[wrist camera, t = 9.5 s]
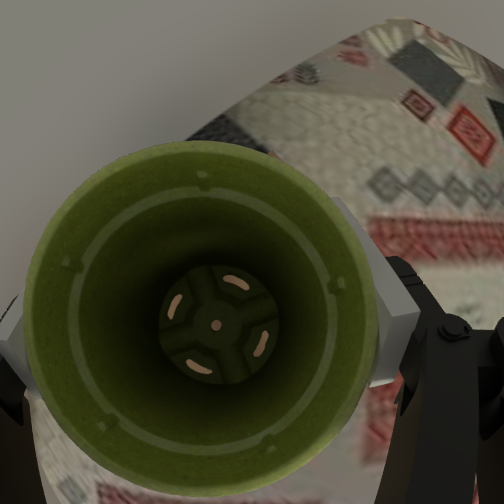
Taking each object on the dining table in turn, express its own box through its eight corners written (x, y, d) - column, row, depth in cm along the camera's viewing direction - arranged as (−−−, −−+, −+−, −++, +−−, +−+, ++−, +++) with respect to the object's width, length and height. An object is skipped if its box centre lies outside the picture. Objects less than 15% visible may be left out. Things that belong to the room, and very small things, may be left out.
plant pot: (172, 207, 17) (109, 109, 8) (338, 269, 16) (417, 209, 8) (106, 366, 15) (-6, 387, 6) (273, 439, 14) (289, 537, 6)
